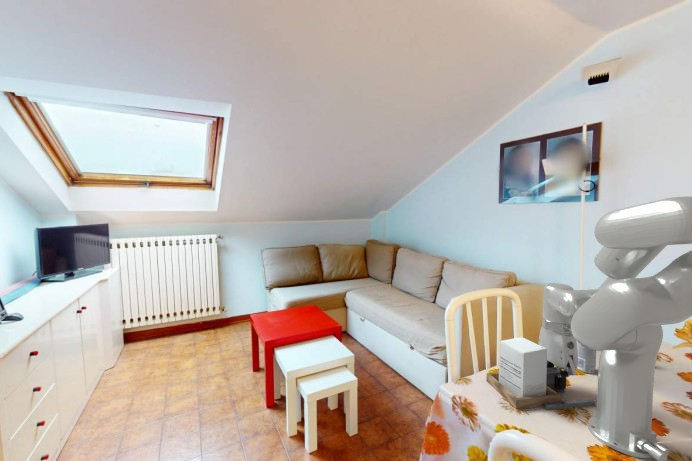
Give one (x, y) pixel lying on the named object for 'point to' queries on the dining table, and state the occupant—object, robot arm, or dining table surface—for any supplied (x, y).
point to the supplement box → (523, 367)
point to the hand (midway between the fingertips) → (555, 384)
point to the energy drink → (586, 359)
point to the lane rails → (569, 404)
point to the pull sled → (528, 401)
